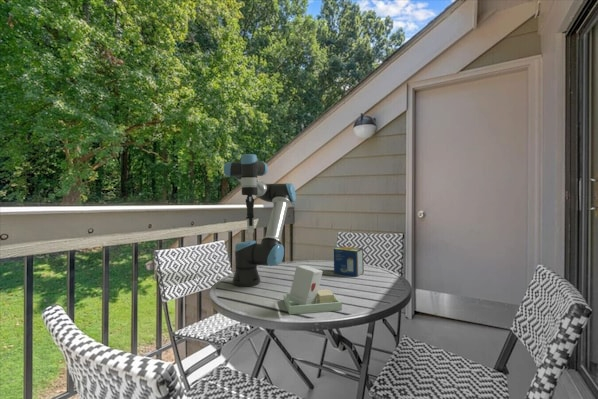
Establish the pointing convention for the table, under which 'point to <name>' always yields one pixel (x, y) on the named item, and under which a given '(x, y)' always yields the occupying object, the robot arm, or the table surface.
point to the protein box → (348, 261)
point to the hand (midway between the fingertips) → (250, 231)
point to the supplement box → (305, 285)
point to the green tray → (311, 306)
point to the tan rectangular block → (325, 296)
